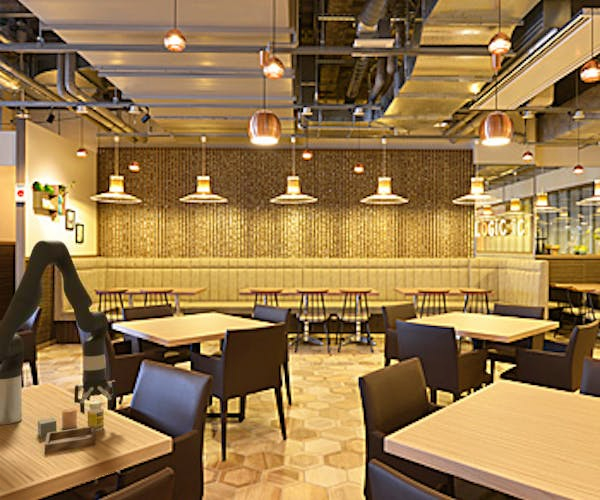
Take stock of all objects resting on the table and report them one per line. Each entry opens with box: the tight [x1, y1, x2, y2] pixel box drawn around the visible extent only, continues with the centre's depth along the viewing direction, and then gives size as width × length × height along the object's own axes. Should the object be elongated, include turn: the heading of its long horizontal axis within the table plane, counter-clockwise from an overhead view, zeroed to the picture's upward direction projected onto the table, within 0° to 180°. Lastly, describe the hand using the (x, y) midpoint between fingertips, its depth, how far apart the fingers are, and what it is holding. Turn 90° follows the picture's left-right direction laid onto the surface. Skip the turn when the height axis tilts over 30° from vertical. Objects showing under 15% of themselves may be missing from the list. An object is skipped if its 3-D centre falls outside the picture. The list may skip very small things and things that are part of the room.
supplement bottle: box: [87, 400, 105, 432], centre depth 184 cm, size 5×5×10 cm
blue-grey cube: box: [37, 417, 58, 439], centre depth 180 cm, size 5×5×5 cm
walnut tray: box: [44, 426, 96, 455], centre depth 171 cm, size 15×12×3 cm
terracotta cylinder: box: [61, 408, 78, 430], centre depth 187 cm, size 5×5×6 cm
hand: (96, 411), depth 184 cm, fingers open, 8 cm apart
